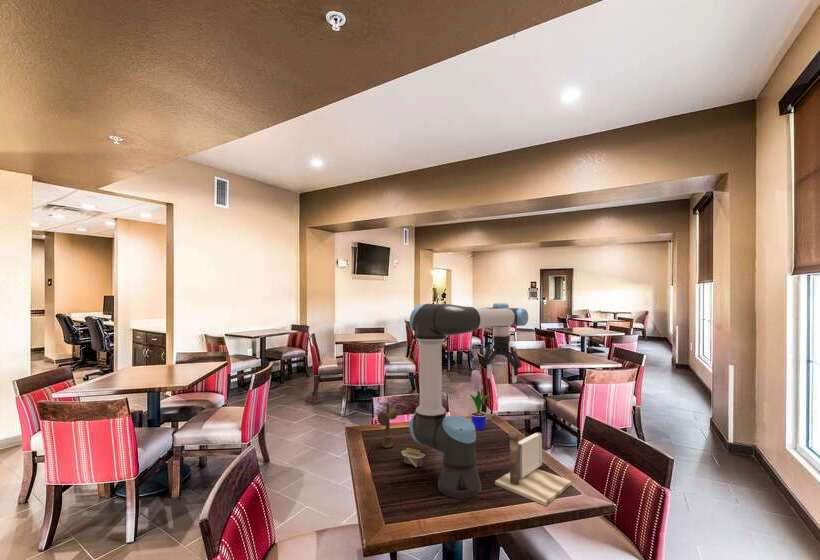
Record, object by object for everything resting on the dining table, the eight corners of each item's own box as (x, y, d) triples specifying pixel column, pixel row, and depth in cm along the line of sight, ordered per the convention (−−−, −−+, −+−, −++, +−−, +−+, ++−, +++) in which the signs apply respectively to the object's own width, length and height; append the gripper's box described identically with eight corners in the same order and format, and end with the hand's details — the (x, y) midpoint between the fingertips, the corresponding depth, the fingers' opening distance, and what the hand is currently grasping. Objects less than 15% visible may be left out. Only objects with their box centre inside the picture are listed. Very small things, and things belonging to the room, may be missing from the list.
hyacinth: (491, 431, 185) (491, 371, 186) (471, 431, 185) (471, 371, 186) (488, 425, 193) (488, 367, 195) (469, 425, 194) (468, 367, 195)
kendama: (376, 449, 162) (376, 403, 163) (386, 441, 171) (386, 398, 172) (388, 451, 160) (388, 405, 161) (398, 443, 169) (398, 399, 170)
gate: (519, 479, 131) (519, 445, 132) (514, 477, 133) (514, 443, 133) (542, 464, 143) (541, 433, 144) (537, 463, 144) (536, 432, 145)
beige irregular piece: (427, 477, 138) (427, 459, 138) (385, 468, 145) (385, 451, 145) (438, 464, 148) (438, 448, 149) (398, 456, 156) (398, 440, 156)
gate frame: (545, 506, 118) (544, 444, 119) (495, 484, 132) (494, 429, 133) (571, 484, 132) (570, 429, 133) (523, 466, 146) (522, 417, 147)
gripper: (529, 336, 169) (529, 383, 168) (483, 333, 187) (484, 375, 186) (520, 337, 164) (521, 385, 163) (475, 334, 182) (475, 377, 181)
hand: (501, 380), depth 175 cm, fingers open, 13 cm apart
